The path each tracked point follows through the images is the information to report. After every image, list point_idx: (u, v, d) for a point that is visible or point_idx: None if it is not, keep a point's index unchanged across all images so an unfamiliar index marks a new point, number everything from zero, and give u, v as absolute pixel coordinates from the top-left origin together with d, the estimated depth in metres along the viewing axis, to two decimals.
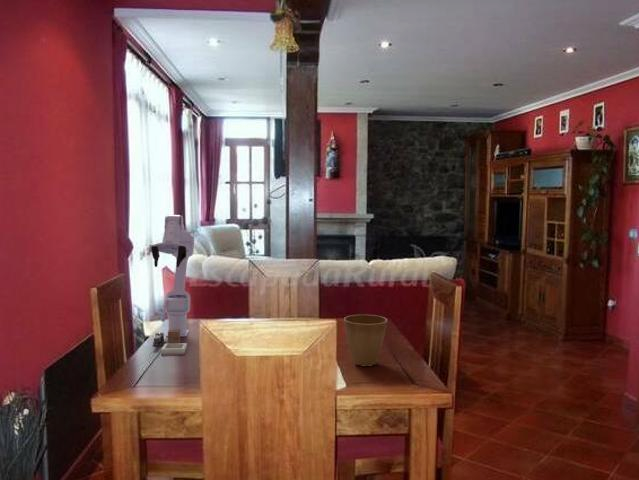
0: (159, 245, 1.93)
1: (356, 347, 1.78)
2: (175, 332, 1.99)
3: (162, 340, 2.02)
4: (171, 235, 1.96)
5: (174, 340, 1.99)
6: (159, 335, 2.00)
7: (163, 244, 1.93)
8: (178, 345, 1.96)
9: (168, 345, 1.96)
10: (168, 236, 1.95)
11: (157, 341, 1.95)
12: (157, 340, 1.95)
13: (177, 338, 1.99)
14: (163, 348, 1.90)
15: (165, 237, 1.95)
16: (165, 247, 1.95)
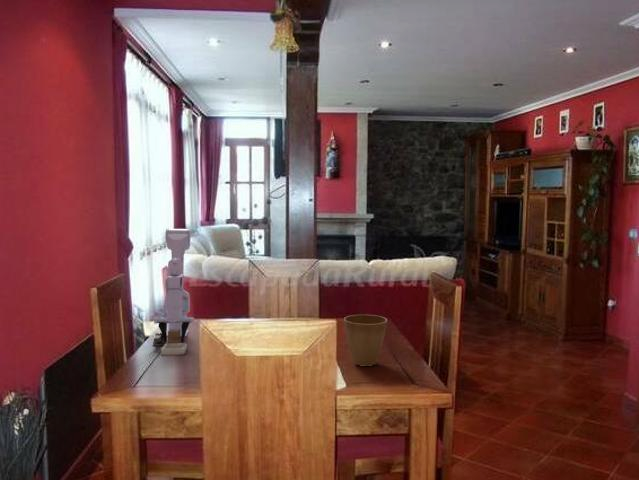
0: (164, 320, 1.99)
1: (356, 347, 1.78)
2: (175, 332, 1.99)
3: (162, 340, 2.02)
4: (174, 310, 1.98)
5: (174, 340, 1.99)
6: (159, 335, 2.00)
7: (168, 321, 1.98)
8: (178, 345, 1.96)
9: (168, 345, 1.96)
10: (171, 312, 1.97)
11: (157, 341, 1.95)
12: (157, 340, 1.95)
13: (177, 338, 1.99)
14: (163, 348, 1.90)
15: (168, 312, 1.98)
16: None
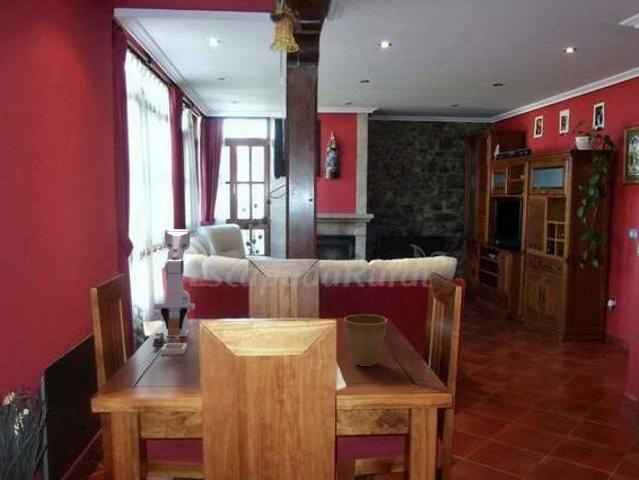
0: (164, 306, 1.91)
1: (356, 347, 1.78)
2: (175, 319, 1.91)
3: (162, 340, 2.02)
4: (174, 296, 1.90)
5: (174, 328, 1.91)
6: (159, 335, 2.00)
7: (168, 307, 1.90)
8: (178, 345, 1.96)
9: (168, 345, 1.96)
10: (171, 297, 1.89)
11: (157, 341, 1.95)
12: (157, 340, 1.95)
13: (177, 326, 1.91)
14: (163, 348, 1.90)
15: (168, 297, 1.90)
16: None
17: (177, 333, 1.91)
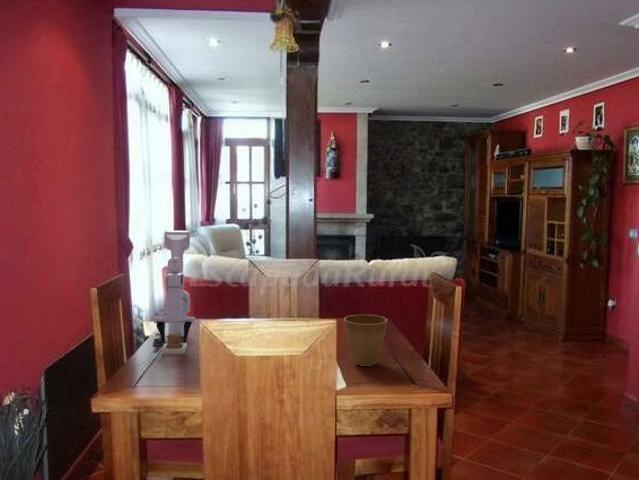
0: (164, 320, 1.91)
1: (356, 347, 1.78)
2: (175, 336, 1.91)
3: None
4: (174, 310, 1.90)
5: (174, 344, 1.91)
6: (159, 335, 2.00)
7: (168, 320, 1.90)
8: None
9: None
10: (171, 311, 1.90)
11: (157, 341, 1.95)
12: (157, 340, 1.95)
13: (177, 342, 1.91)
14: (163, 348, 1.90)
15: (168, 311, 1.90)
16: None
17: None
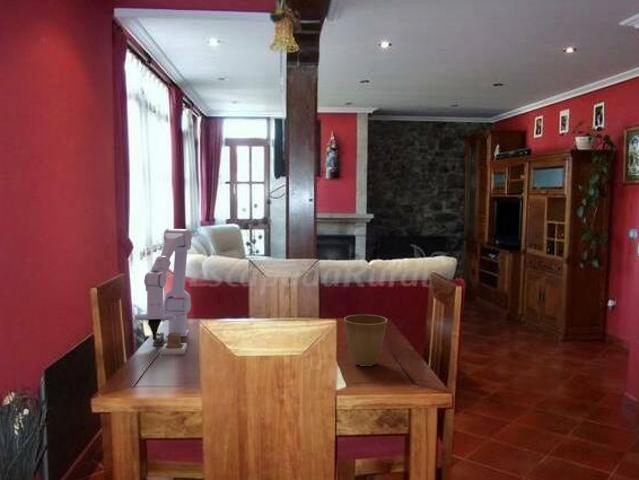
0: (144, 317, 1.95)
1: (356, 347, 1.78)
2: (175, 336, 1.91)
3: (162, 340, 2.02)
4: (155, 307, 1.94)
5: (174, 344, 1.91)
6: (159, 335, 2.01)
7: None
8: None
9: None
10: (152, 309, 1.94)
11: (157, 341, 1.95)
12: (157, 340, 1.95)
13: (177, 342, 1.91)
14: (163, 348, 1.90)
15: (149, 309, 1.95)
16: None
17: None
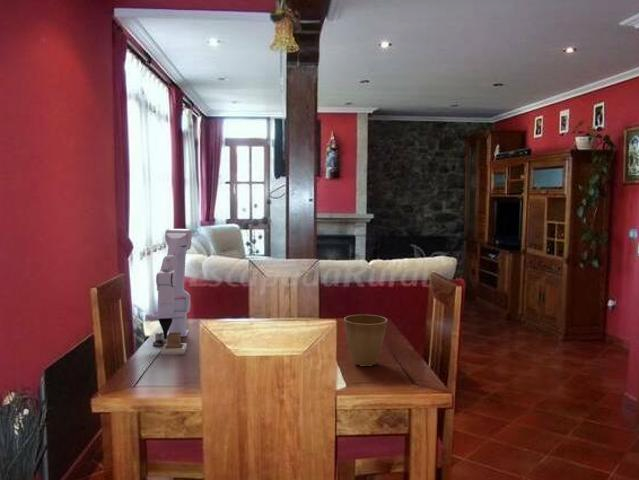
0: (156, 317, 1.96)
1: (356, 347, 1.78)
2: (175, 336, 1.91)
3: None
4: (167, 306, 1.96)
5: (174, 344, 1.91)
6: (163, 334, 2.02)
7: (160, 317, 1.96)
8: None
9: None
10: (164, 308, 1.95)
11: None
12: None
13: (177, 342, 1.91)
14: (163, 348, 1.90)
15: (161, 308, 1.95)
16: None
17: None
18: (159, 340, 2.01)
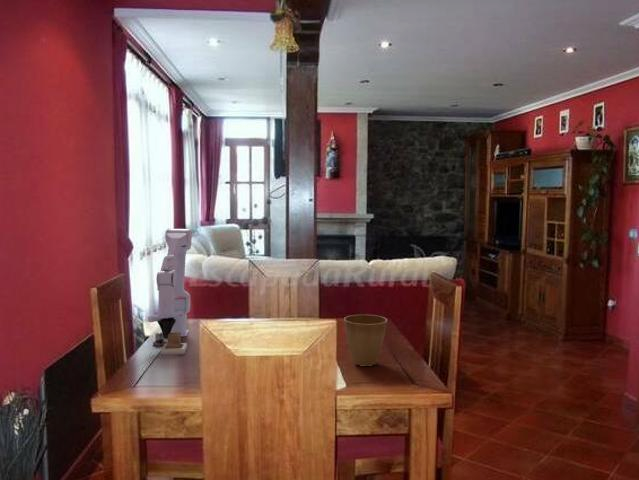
0: (160, 317, 1.95)
1: (356, 347, 1.78)
2: (175, 336, 1.91)
3: None
4: (172, 306, 1.97)
5: (174, 344, 1.91)
6: None
7: (165, 317, 1.96)
8: None
9: None
10: (169, 308, 1.96)
11: None
12: None
13: (177, 342, 1.91)
14: (163, 348, 1.90)
15: (166, 308, 1.96)
16: None
17: None
18: (161, 340, 2.01)
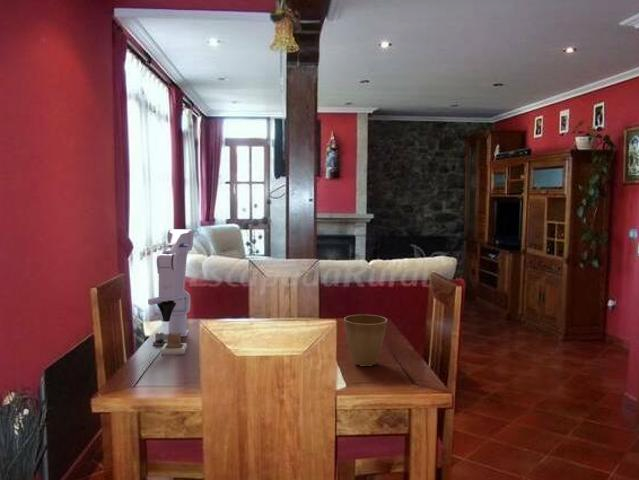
0: (160, 300, 1.95)
1: (356, 347, 1.78)
2: (175, 336, 1.91)
3: None
4: (172, 289, 1.97)
5: (174, 344, 1.91)
6: (164, 334, 2.03)
7: (165, 300, 1.95)
8: None
9: None
10: (169, 291, 1.96)
11: None
12: None
13: (177, 342, 1.91)
14: (163, 348, 1.90)
15: (166, 291, 1.95)
16: None
17: None
18: (161, 340, 2.01)
